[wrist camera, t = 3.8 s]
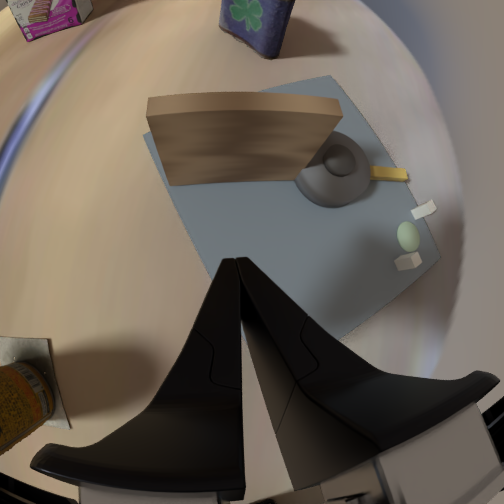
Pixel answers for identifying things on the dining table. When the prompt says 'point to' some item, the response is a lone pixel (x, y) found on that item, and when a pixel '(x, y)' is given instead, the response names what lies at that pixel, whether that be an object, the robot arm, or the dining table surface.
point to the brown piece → (262, 143)
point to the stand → (315, 230)
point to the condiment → (27, 390)
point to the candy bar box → (48, 15)
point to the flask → (257, 23)
